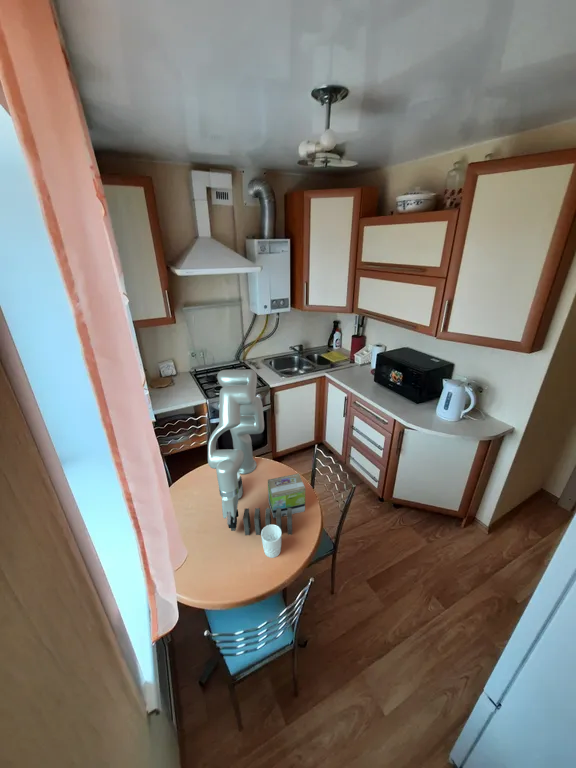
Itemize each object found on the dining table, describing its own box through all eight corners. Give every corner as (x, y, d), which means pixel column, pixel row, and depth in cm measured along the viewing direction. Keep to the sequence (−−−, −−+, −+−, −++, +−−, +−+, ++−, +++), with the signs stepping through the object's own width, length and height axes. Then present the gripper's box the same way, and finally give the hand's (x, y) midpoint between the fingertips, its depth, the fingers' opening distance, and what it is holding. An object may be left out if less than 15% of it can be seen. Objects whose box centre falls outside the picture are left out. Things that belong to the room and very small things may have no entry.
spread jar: (241, 502, 147) (239, 484, 142) (217, 502, 147) (214, 484, 142) (245, 484, 158) (243, 466, 153) (222, 484, 158) (220, 466, 153)
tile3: (266, 524, 136) (265, 508, 131) (271, 524, 136) (270, 508, 131) (265, 534, 131) (264, 518, 127) (270, 534, 131) (269, 518, 127)
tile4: (276, 524, 136) (275, 508, 131) (281, 524, 136) (280, 508, 131) (276, 534, 131) (275, 517, 127) (281, 534, 131) (280, 517, 127)
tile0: (232, 520, 134) (230, 503, 130) (237, 520, 134) (235, 503, 130) (230, 530, 130) (227, 513, 126) (235, 530, 130) (233, 513, 125)
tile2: (256, 524, 136) (254, 508, 131) (261, 524, 136) (259, 508, 131) (255, 535, 131) (253, 518, 127) (260, 534, 131) (258, 518, 127)
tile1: (245, 525, 136) (243, 508, 131) (250, 525, 136) (248, 508, 131) (244, 535, 131) (242, 518, 127) (249, 535, 131) (247, 518, 127)
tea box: (273, 519, 138) (271, 495, 131) (268, 502, 147) (266, 478, 140) (305, 511, 141) (305, 487, 135) (299, 495, 150) (298, 471, 144)
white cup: (271, 537, 130) (270, 521, 125) (286, 548, 125) (285, 531, 121) (258, 551, 124) (256, 534, 120) (273, 563, 120) (272, 546, 115)
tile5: (287, 524, 135) (286, 507, 131) (292, 524, 135) (291, 507, 131) (287, 534, 131) (286, 517, 127) (292, 534, 131) (291, 517, 127)
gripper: (223, 474, 131) (228, 506, 139) (215, 506, 116) (220, 540, 123) (241, 474, 131) (245, 505, 139) (235, 506, 115) (239, 539, 123)
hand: (233, 521), depth 131 cm, fingers closed on tile0, 4 cm apart
